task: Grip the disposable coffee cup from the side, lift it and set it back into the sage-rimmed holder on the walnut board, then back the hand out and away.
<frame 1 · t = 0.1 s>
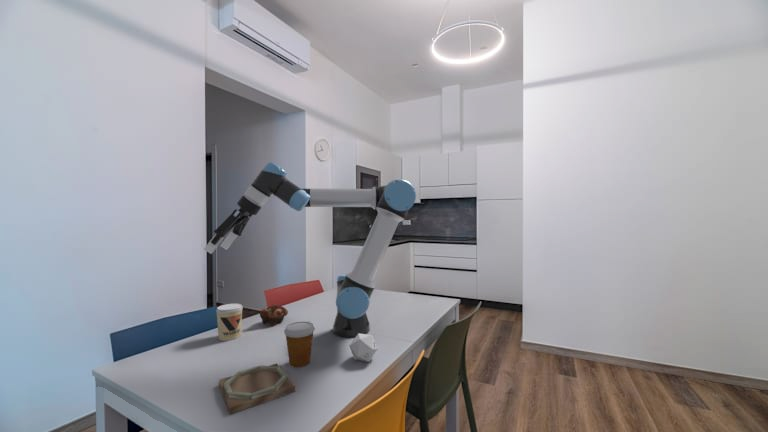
hand: (216, 249, 108), 36 cm above the table, tool tilted 35°, fingers open, 13 cm apart
cup holder board: (256, 388, 84), on the table
coffee cup: (229, 337, 121), on the table
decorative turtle: (274, 323, 137), on the table
disposable coffee cup: (299, 363, 98), on the table
die: (363, 359, 101), on the table
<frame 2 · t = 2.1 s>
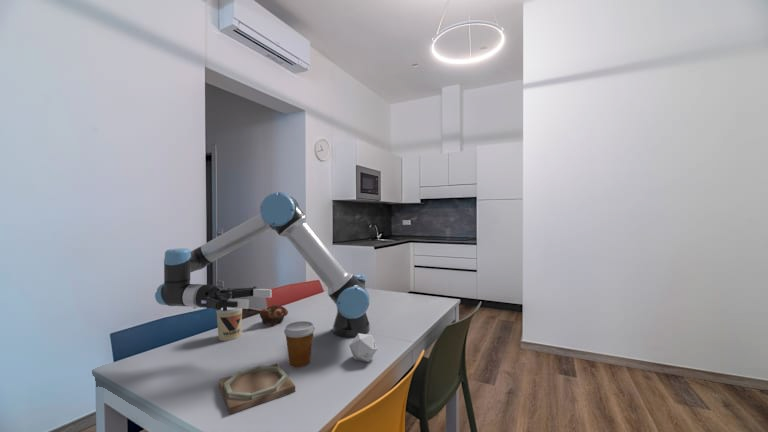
hand: (260, 298, 101), 20 cm above the table, tool horizontal, fingers open, 13 cm apart
nothing on the table moved.
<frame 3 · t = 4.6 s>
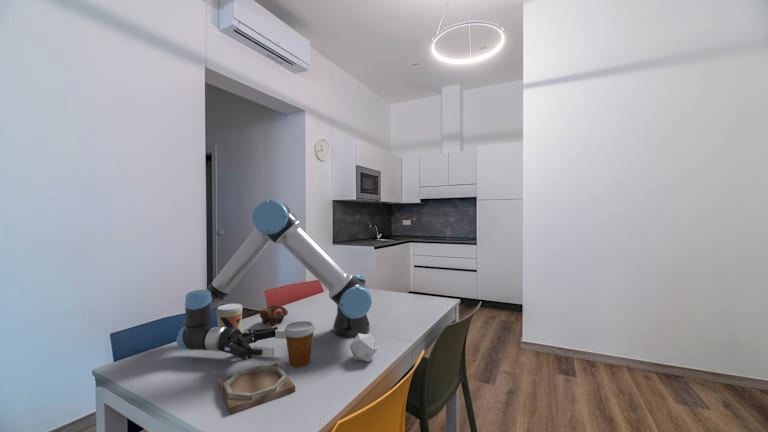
hand: (284, 342, 99), 6 cm above the table, tool horizontal, fingers open, 13 cm apart
nothing on the table moved.
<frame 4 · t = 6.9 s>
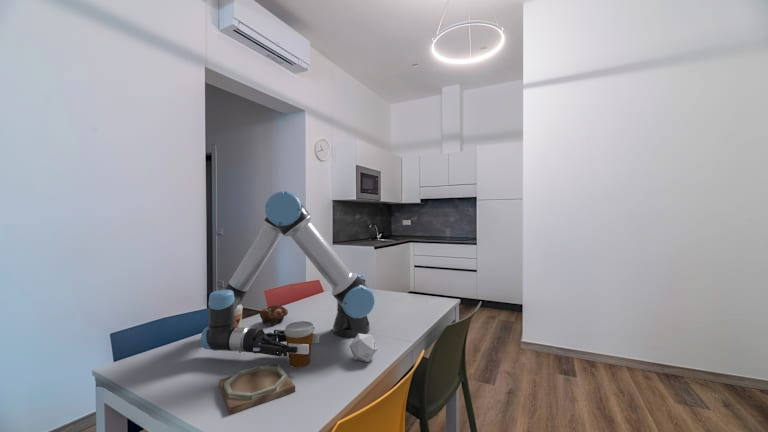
hand: (313, 343, 98), 7 cm above the table, tool horizontal, fingers closed on disposable coffee cup, 8 cm apart
disposable coffee cup: (299, 363, 98), on the table, touching gripper
everything else where it was.
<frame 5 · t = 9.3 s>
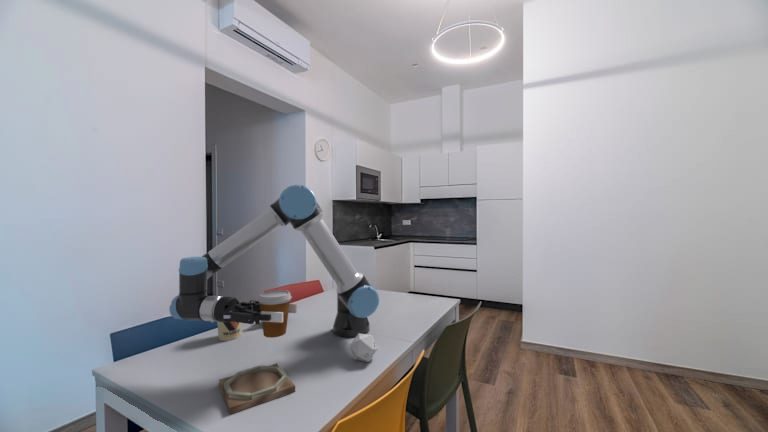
hand: (289, 312, 91), 19 cm above the table, tool horizontal, fingers closed on disposable coffee cup, 8 cm apart
disposable coffee cup: (274, 334, 91), point 12 cm above the table, touching gripper
everything else where it was.
when the fingers open (9 cm above the table, at t = 12.0 s): disposable coffee cup drops 1 cm, resting on cup holder board.
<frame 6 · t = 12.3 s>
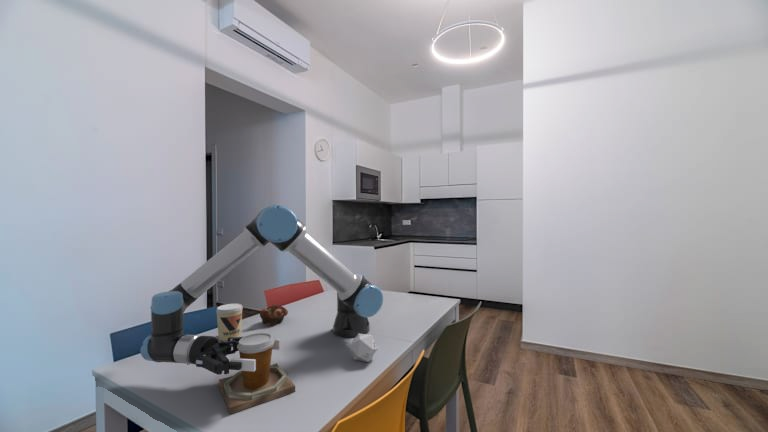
hand: (268, 354, 83), 9 cm above the table, tool horizontal, fingers open, 12 cm apart
disposable coffee cup: (256, 383, 84), point 1 cm above the table, touching cup holder board
everything else where it was.
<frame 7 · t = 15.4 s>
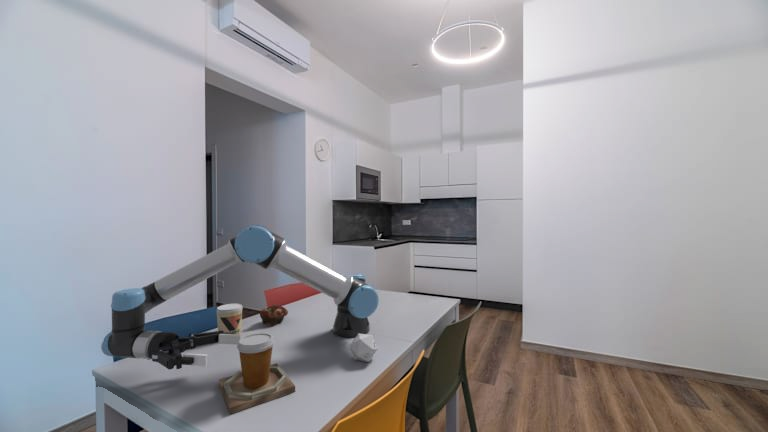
hand: (224, 349, 86), 10 cm above the table, tool horizontal, fingers open, 13 cm apart
nothing on the table moved.
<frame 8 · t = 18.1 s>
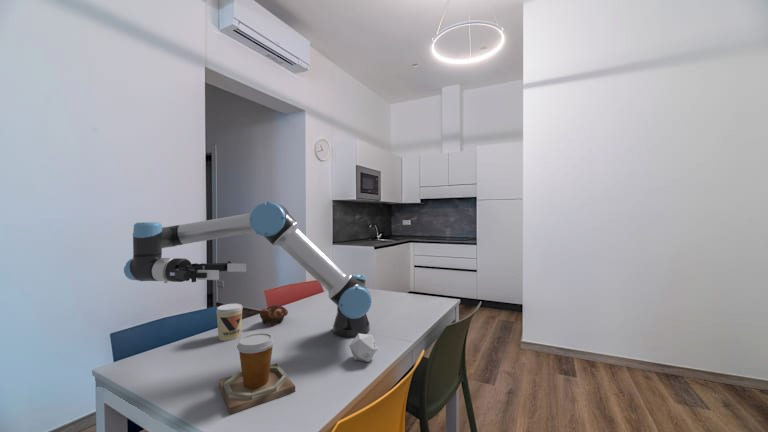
hand: (233, 271, 97), 30 cm above the table, tool horizontal, fingers open, 13 cm apart
nothing on the table moved.
at the end: disposable coffee cup 0.1 cm off-centre on the cup holder board, point 1.3 cm above the cup holder board's base; disposable coffee cup tilted 0°; the gripper is holding nothing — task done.
